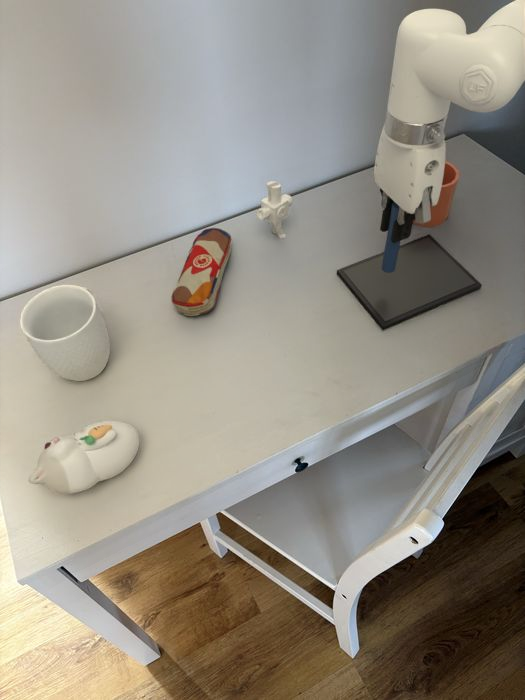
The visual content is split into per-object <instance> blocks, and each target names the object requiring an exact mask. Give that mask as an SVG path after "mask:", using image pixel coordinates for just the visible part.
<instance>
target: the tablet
mask: <svg viewBox="0 0 525 700" xmlns="http://www.w3.org/2000/svg"><path fill="white" fill-rule="evenodd" d="M383 257H384V251H382V252H380V253H376V254H375V255H372V256H370V257H367V258H364V259H362V260H359V261H357V262H354V263H352V264H349V265H347V266H344V267H342V268H339V269H337V270H336V275H337V276H338V277H339V279H340V280H341V281H342V282H343V284H344V285H345V286H346V288H347V289H348V290H349V291H350V292H351V294H352V295H353V296H354V297H355V299H356V300H357V301H358V302H359V303H360V305H361V306H362V307H363V308H364V309H365V311H366V312H367V313H368V315H369V316H370V317H371V319H373V320H374V322H375V323H376V325H378V327H379V328H380V329H381V330H382V331H385V330H388V329H390V328H392V327H395V326H397V325H399V324H402V323H404V322H406V321H408V320H411V319H413V318H416V317H418V316H421V315H423V314H426V313H428V312H430V311H432V310H435V309H437V308H439V307H441V306H444V305H446V304H449V303H450V302H454V301H455V300H458V299H461V298H462V297H465V296H466V295H469V294H471V293H475V292H476V291H478V290H481V288H482V286H483V284H482V283H481V282H480V281H479V280H478V279H477V278H476V277H475V276H474V275H473V274H472V273H470V271H468V270H467V269H466V268H465V267H464V266H463V265H462V264H461V263H460V262H459V261H458V260H457V259H456V258H455V257H454V256H452V255H451V254H450V252H449V251H447V250H446V248H445V247H443V246H442V244H441V243H439V242H438V241H437V240H436V239H435V238H434V237H433V236H432V235H431V234H430V233H428V234H425V235H423V236H421V237H418V238H416V239H413V240H410V241H408V242H405V243H402V244H400V246H399V252H398V257H397V262H396V267H395V270H394V271H393V272H392V273H386V272H384V271H383V270H382V263H383Z"/></svg>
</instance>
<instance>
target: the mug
mask: <svg viewBox="0 0 525 700" xmlns="http://www.w3.org/2000/svg"><path fill="white" fill-rule="evenodd" d="M97 303H98V302H97V301H96V299H95V297H94V294H93V293H92V291H91V290H90V289H89V288H88V287H85V286H79V285H74V284H60V285H56V286H51V287H49V288H46V289H45V290H42V291H40V292H39V293H37V294H36V295H34V296H33V297H32V298H31V299H30V300H29V301H28V302H27V303H26V304H25V305H24V307H23V308H22V311H21V313H20V317H19V326H20V329H21V331H22V333H23V335H24V336H25V337H26V340H27V342H28V343H29V345H30V346H31V348H32V349H33V351H34V352H35V354H36V355H37V356H38V358H39V359H40V360H41V361H42V363H43V364H44V365H45V366H46V367H48V368H49V369H50V370H51V371H52V372H54V373H55V374H56V375H58V376H59V377H61V378H64V379H65V380H69V381H75V382H82V381H84V382H85V381H89V380H91V379H94V378H95V377H97V376H98V375H100V374H101V373H102V372H103V370H104V369H105V368H106V366H107V364H108V361H109V357H110V352H111V349H110V348H111V345H110V343H111V342H110V336H109V331H108V329H107V324H106V322H105V319H104V317H103V313H102V312H101V310H100V307H99V305H98V304H97Z"/></svg>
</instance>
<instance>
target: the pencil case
mask: <svg viewBox="0 0 525 700" xmlns="http://www.w3.org/2000/svg"><path fill="white" fill-rule="evenodd" d="M231 244H232V236H231V234H230V233H229V232H228V231H227V230H224V229H222V228H219V227H209V228H205V229H203V230H202V231H201V232H200V233H199V234H197V236H196V237H195V238H194V240H193V242H192V243H191V247H190V250H189V251H188V252H189V253H188V255H187V257H186V260H185V261H184V265H183V268H182V270H181V272H180V275H179V277H178V280H177V283H176V285H175V287H174V289H173V291H172V293H171V298H170V299H171V302H172V305H173V306H174V308H175V310H176V311H177V312H179V314H181V315H184V316H187V317H195V316H196V317H197V316H201V315H204V314H207V313H208V312H210V311H211V310H212V309H213V308H214V307H215V305H216V303H217V300H218V296H219V291H220V288H221V284H222V281H223V277H224V272H225V270H226V267H227V265H228V262H229V258H230V255H231V252H232V246H231Z"/></svg>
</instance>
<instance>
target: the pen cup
mask: <svg viewBox="0 0 525 700" xmlns="http://www.w3.org/2000/svg"><path fill="white" fill-rule="evenodd" d="M459 178H460V172H459V169H458V168H457V167H456V166H455V165H454V164H452V163H451V162H449V161H447V160H445V167H444V175H443V181H442V186H441V191H440V196H439V200H438V203H437V205H435V206H431V205H430V213H431V220H430V221H429V222H427V223H424V224H420V223H417V222H415V221H413V225H415V226H420V227H429V228H430V227H437V226H440V225H442V224H443V223H444V222H446V220H447V219H448V217H449V215H450V211H451V208H452V204H453V201H454V196H455V193H456V190H457V186H458V182H459V180H460V179H459ZM407 214H408V212H407Z"/></svg>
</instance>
